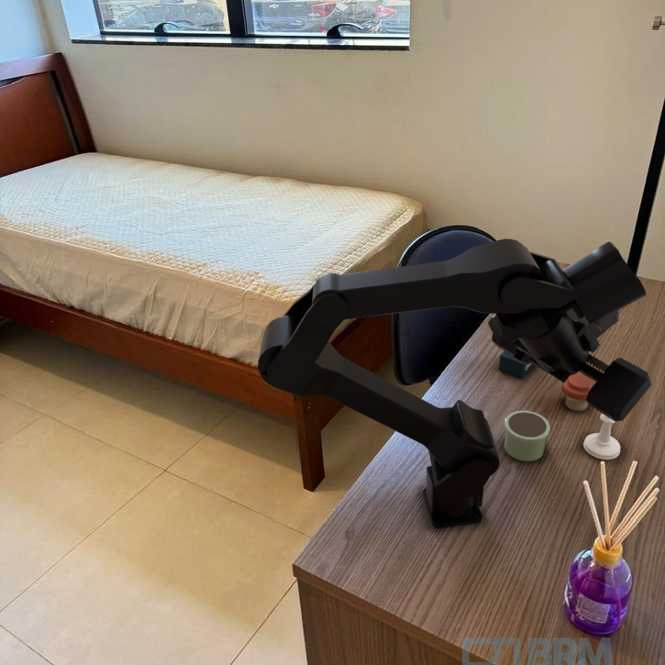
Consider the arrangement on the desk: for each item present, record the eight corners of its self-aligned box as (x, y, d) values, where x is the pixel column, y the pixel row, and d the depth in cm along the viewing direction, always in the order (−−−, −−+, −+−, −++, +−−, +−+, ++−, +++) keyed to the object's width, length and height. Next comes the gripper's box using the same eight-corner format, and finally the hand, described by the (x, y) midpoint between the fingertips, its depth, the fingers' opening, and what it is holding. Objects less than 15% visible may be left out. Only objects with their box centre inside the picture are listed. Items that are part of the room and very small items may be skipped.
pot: (511, 465, 86) (514, 441, 84) (496, 436, 92) (498, 413, 89) (553, 460, 87) (557, 436, 84) (536, 431, 92) (539, 407, 89)
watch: (532, 383, 102) (540, 327, 96) (489, 366, 106) (494, 312, 101) (548, 367, 105) (556, 313, 99) (505, 351, 110) (511, 298, 104)
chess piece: (576, 441, 90) (587, 387, 84) (604, 432, 91) (617, 379, 85) (598, 463, 86) (611, 408, 80) (627, 454, 87) (642, 399, 81)
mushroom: (567, 417, 94) (572, 392, 92) (553, 396, 98) (557, 372, 96) (599, 413, 94) (605, 388, 92) (584, 392, 99) (589, 368, 96)
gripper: (672, 312, 61) (691, 370, 72) (526, 244, 74) (562, 302, 85) (602, 399, 61) (632, 443, 72) (469, 317, 74) (512, 365, 85)
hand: (582, 382), depth 79 cm, fingers open, 9 cm apart
